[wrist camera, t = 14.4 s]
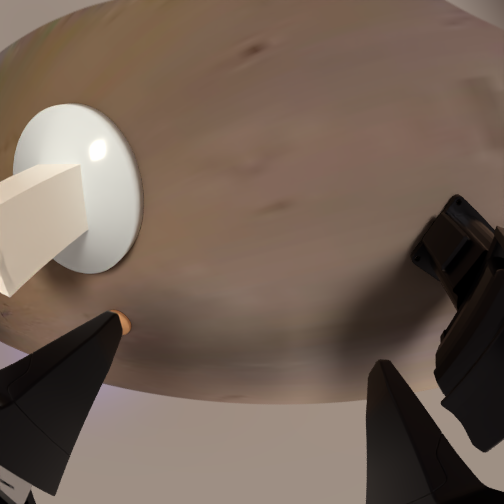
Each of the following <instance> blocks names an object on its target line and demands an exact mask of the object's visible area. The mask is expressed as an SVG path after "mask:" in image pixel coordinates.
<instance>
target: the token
mask: <svg viewBox="0 0 504 504" xmlns="http://www.w3.org/2000/svg"><path fill="white" fill-rule="evenodd" d="M110 311H112V312H115V313H117V314H118V315H119V318H120V321H121V325H122V328H123V334H122V335H125V334H127V333H128V332H129V331H130V329H131V322H130V321H129V319H128V318H127V317H126V316H125V315H124V314H123V313H121V312H120V311H117V310H110Z"/></svg>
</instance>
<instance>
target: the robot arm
mask: <svg viewBox="0 0 504 504" xmlns="http://www.w3.org/2000/svg"><path fill="white" fill-rule="evenodd" d="M458 199H459V203H458V204H456V202H457V200H458ZM416 256H419V257H418V258H417V259H415V257H416ZM410 258H411V260H412V262H413V263H414V264H415V265H417V266H418V267H420V268H421V269H423V270H424V271H425V272H427V273H428V274H430V275H431V276H433V277H434V278H435V279H437V280H438V281H440V282H441V283H442V285H443V287H444V289H445V290H446V292H447V294H448V296H449V297H450V299H451V301H452V303H453V305H454V307H455V308H456V310H457V313H456V314H455V316H454V318H453V319H452V321H451V323H450V324H449V326H448V327H447V329H446V330H444V331H443V333H442V334H441V336H440V341H441V344H440V345H439V347H438V350H437V352H436V369H435V370H434V375H435V378H436V381H437V384H438V386H439V387H440V389H441V391H442V392H443V394H444V395H445V396H446V397H445V398H444V399H443V400H442V401H441V405H442V406H443V407H444V408H446V409H447V410H449V411H450V412H451V413H453V414H454V415H455V417H456V418H457V419H458V420H459V421H460V422H461V423H462V425H463V427H464V429H465V430H466V432H467V434H468V436H469V438H470V440H471V442H472V444H473V445H474V446H475V447H476V448H478V449H479V450H481V451H482V452H488V451H489V450H491V449H492V448H493V447H495V446H496V445H497V444H499V443H500V442H501V441H502V440H504V228H501V227H499V226H496V229H495V230H494V229H493V228H492V227H491V226H490V225H489V224H488V222H487V221H486V220H485V219H484V218H483V217H482V216H481V215H480V214H479V213H478V212H477V211H476V210H475V209H474V208H473V207H472V206H471V205H470V204H469V203H468V202H467V201H466V200H465V199H464V198H463V197H462V196H460V195H459V194H456V195H454V196H453V197H452V199H451V200H450V202H449V203H448V205H447V206H446V208H445V209H444V211H443V212H442V213H441V214H440V215H439V216H438V218H437V219H436V221H435V222H434V223H433V225H432V226H431V228H430V229H429V230H428V232H427V233H426V234H425V236H424V237H423V240H422V241H421V242H420V243H419V245H418V246H417V247H416V249H415V250H414V251H413V252H412V254H411V257H410ZM122 334H123V328H122V325H121V321H120V318H119V315H118V314H117V313H115V312H112V311H106V312H104V313H102V314H101V315H99V316H97V317H95V318H93V319H92V320H90V321H88V322H86V323H84V324H83V325H81V326H79V327H77V328H75V329H74V330H72V331H70V332H68V333H67V334H65V335H63V336H61V337H59V338H58V339H56V340H54V341H52V342H51V343H49V344H47V345H45V346H44V347H42V348H40V349H38V350H37V351H35V352H33V354H32V353H31V354H30V355H28V356H26V357H24V358H23V359H21V360H19V361H17V362H15V363H13V364H11V365H9V366H7V367H5V368H3V369H1V370H0V504H36V503H35V500H34V498H33V494H32V491H31V487H32V485H33V486H35V487H37V488H39V489H41V490H42V491H44V492H47V493H48V494H50V495H52V496H55V494H56V492H57V489H58V486H59V483H60V481H61V478H62V475H63V473H64V470H65V468H66V465H67V462H68V460H69V457H70V455H71V452H72V450H73V447H74V445H75V443H76V440H77V438H78V436H79V433H80V431H81V428H82V426H83V424H84V422H85V420H86V417H87V415H88V413H89V411H90V409H91V406H92V404H93V402H94V400H95V398H96V396H97V394H98V392H99V389H100V387H101V385H102V383H103V381H104V379H105V377H106V375H107V373H108V371H109V369H110V366H111V364H112V361H113V358H114V356H115V353H116V350H117V348H118V345H119V342H120V340H121V337H122ZM441 433H442V432H441V430H440V429H439V428H438V426H437V425H436V423H435V422H434V420H433V419H432V417H431V416H430V415H429V413H428V412H427V410H426V409H425V408H424V406H423V405H422V403H421V402H420V401H419V399H418V398H417V396H416V395H415V394H414V392H413V391H412V390H411V388H410V387H409V385H408V384H407V383H406V381H405V380H404V379H403V377H402V376H401V375H400V373H399V372H398V371H397V369H396V368H395V367H394V365H393V364H392V363H391V361H389V360H382V359H380V360H378V361H377V362H376V363H375V365H374V367H373V368H372V370H371V372H370V373H369V376H368V388H367V407H366V437H367V488H366V489H367V490H366V504H504V492H502V491H498V490H495V489H492V488H489V487H487V486H485V485H484V484H483V483H481V482H480V480H479V479H478V478H477V477H476V476H475V475H474V474H473V473H472V471H471V470H470V469H469V468H468V466H467V465H466V464H465V463H464V462H463V460H462V459H461V458H460V457H459V455H458V454H457V453H456V452H455V450H454V449H453V447H452V446H451V445H450V443H449V442H448V440H447V439H446V438H445V436H444V435H443V434H441Z"/></svg>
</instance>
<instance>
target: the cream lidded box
mask: <svg viewBox="0 0 504 504" xmlns="http://www.w3.org/2000/svg"><path fill="white" fill-rule="evenodd" d="M87 230H88V223H87V217H86V210H85V202H84V194H83V186H82V176H81V164H38V165H35V166H33V167H31V168H29V169H26V170H24V171H22V172H20V173H18V174H16V175H13V176H11V177H9V178H7V179H5V180H3V181H1V182H0V293H2V294H4V295H6V296H8V297H11V296H12V295H13V294H14V293H15V292H16V291H17V290H18V289H19V288H20V287H21V286H22V285H23V284H24V283H26V282H27V281H28V280H29V279H30V278H31V277H32V276H33V275H34V274H35V273H36V272H38V271H39V270H40V269H41V268H42V267H43V266H44V265H46V264H47V263H48V262H49V261H50V260H51V259H52V258H54V257H55V256H56V255H57V254H58V253H60V252H61V251H62V250H63V249H64V248H66V247H67V246H68V245H69V244H71V243H72V242H73V241H74V240H76V239H77V238H78V237H79V236H81V235H82V234H83V233H84V232H86V231H87Z"/></svg>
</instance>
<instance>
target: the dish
mask: <svg viewBox="0 0 504 504" xmlns="http://www.w3.org/2000/svg"><path fill="white" fill-rule="evenodd" d="M38 164H81V176H82V186H83V194H84V202H85V210H86V217H87V223H88V230H87V231H86V232H84V233H83V234H82V235H81V236H79V237H78V238H77V239H76V240H74V241H73V242H72V243H71V244H69V245H68V246H67V247H66V248H64V249H63V250H62V251H61V252H60V253H58V254H57V255H56V256H55V257H54V258H52V259H54V260H55V261H56V262H58V263H59V264H61V265H62V266H64V267H66V268H68V269H70V270H73V271H76V272H80V273H86V274H94V273H100V272H103V271H106V270H108V269H110V268H111V267H113V266H114V265H115V264H116V263H117V262H118V261H119V260H120V259H121V258H122V257H123V256H124V255H125V254H126V253H127V252H128V251H129V250H130V248H131V247H132V246H133V244H134V242H135V240H136V238H137V236H138V233H139V231H140V228H141V223H142V218H143V209H144V195H143V186H142V179H141V175H140V171H139V167H138V164H137V161H136V158H135V156H134V153H133V151H132V149H131V147H130V145H129V143H128V141H127V140H126V138H125V136H124V135H123V133H122V132H121V131H120V129H119V128H118V127H117V126H116V124H115V123H114V122H113V121H112V120H111V119H110V118H108V117H107V116H106V115H105V114H103V113H102V112H101V111H99V110H97V109H95V108H93V107H91V106H88V105H85V104H80V103H69V104H62V105H57V106H52V107H49V108H47V109H45V110H43V111H41V112H40V113H38V114H37V115H36V116H35V117H33V118H32V120H31V121H30V122H29V123H28V124H27V126H26V127H25V129H24V131H23V132H22V135H21V137H20V139H19V142H18V145H17V148H16V152H15V157H14V165H13V175H16V174H18V173H20V172H22V171H24V170H26V169H29V168H31V167H33V166H35V165H38Z"/></svg>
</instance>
